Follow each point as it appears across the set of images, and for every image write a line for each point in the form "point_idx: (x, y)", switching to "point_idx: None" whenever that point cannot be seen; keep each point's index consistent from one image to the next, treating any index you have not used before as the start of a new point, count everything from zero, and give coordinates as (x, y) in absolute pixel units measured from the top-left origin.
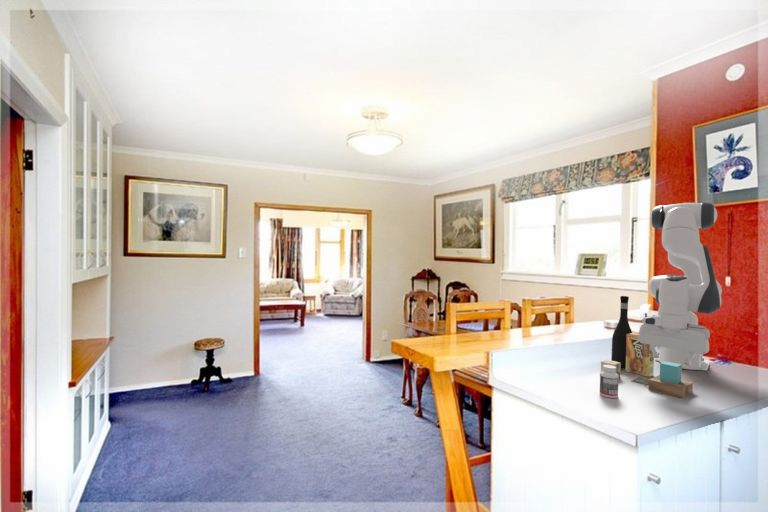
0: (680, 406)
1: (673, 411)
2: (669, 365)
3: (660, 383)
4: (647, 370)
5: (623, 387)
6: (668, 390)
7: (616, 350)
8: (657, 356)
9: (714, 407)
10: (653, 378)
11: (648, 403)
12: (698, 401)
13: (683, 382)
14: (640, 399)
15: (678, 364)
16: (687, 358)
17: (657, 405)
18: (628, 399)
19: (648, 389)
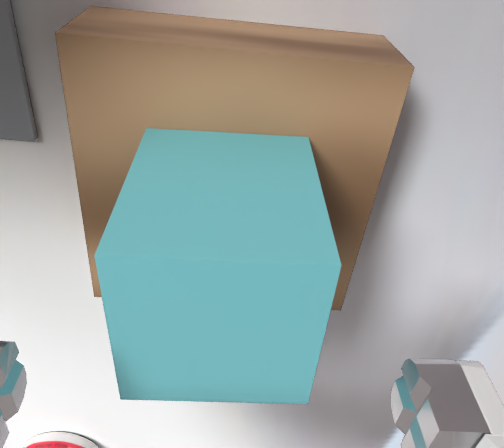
0: (335, 375)
1: (319, 436)
2: (224, 398)
3: None
4: None
5: (7, 314)
6: None
7: None
8: (13, 412)
9: (496, 276)
10: (97, 238)
11: (217, 425)
12: (418, 238)
13: (329, 149)
14: (172, 409)
15: (300, 302)
16: (458, 435)
17: (252, 422)
18: (140, 437)
19: None
